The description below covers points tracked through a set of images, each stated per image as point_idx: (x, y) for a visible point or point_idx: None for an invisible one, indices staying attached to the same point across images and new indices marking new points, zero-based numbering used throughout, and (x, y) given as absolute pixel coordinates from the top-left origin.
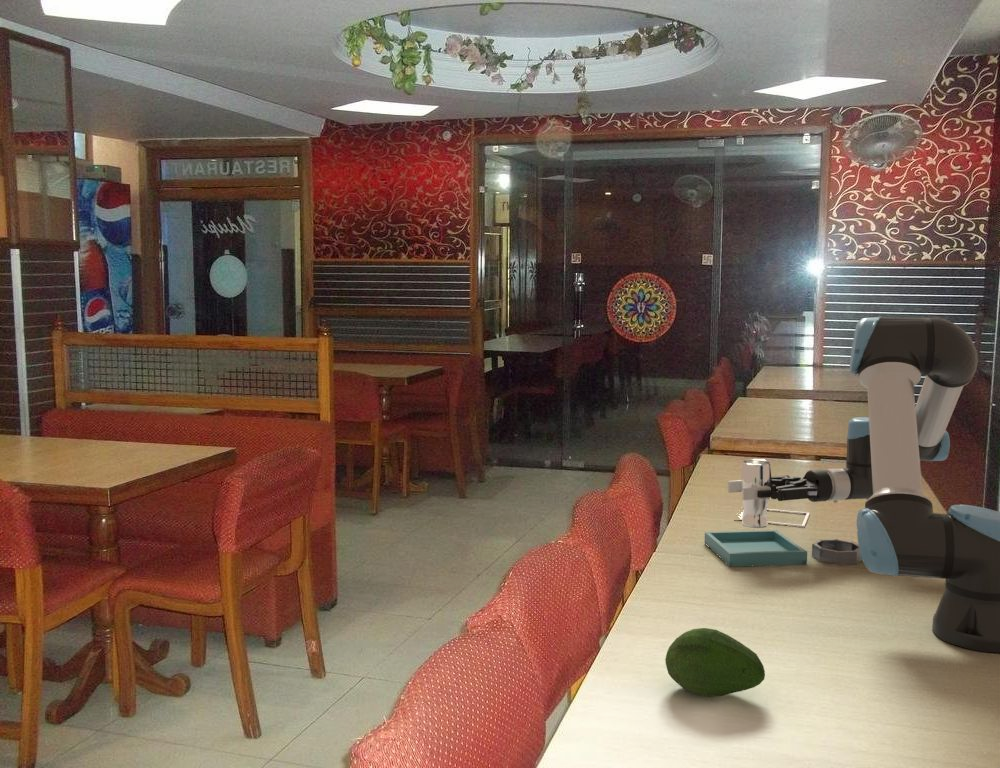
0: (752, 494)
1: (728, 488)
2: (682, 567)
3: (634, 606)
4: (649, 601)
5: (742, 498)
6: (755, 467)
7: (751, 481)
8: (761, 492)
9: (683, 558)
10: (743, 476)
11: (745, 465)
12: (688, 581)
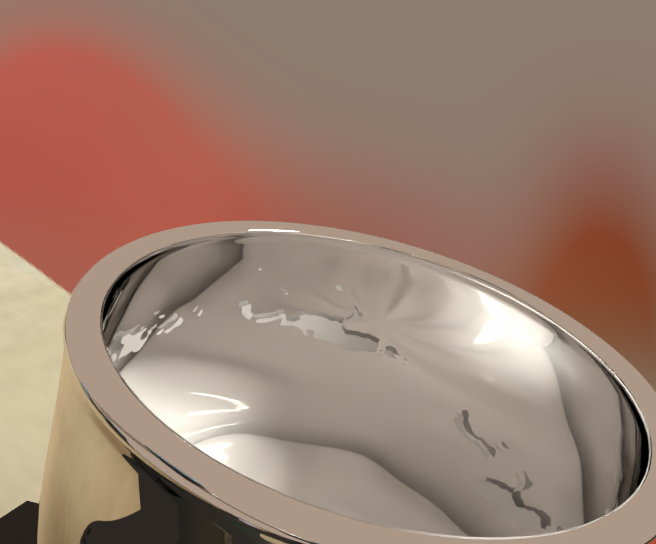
0: None
1: None
2: None
3: (21, 262)
4: (17, 285)
5: None
6: (184, 265)
7: (192, 426)
8: (5, 524)
9: None
10: (321, 388)
11: (334, 259)
12: (52, 404)
